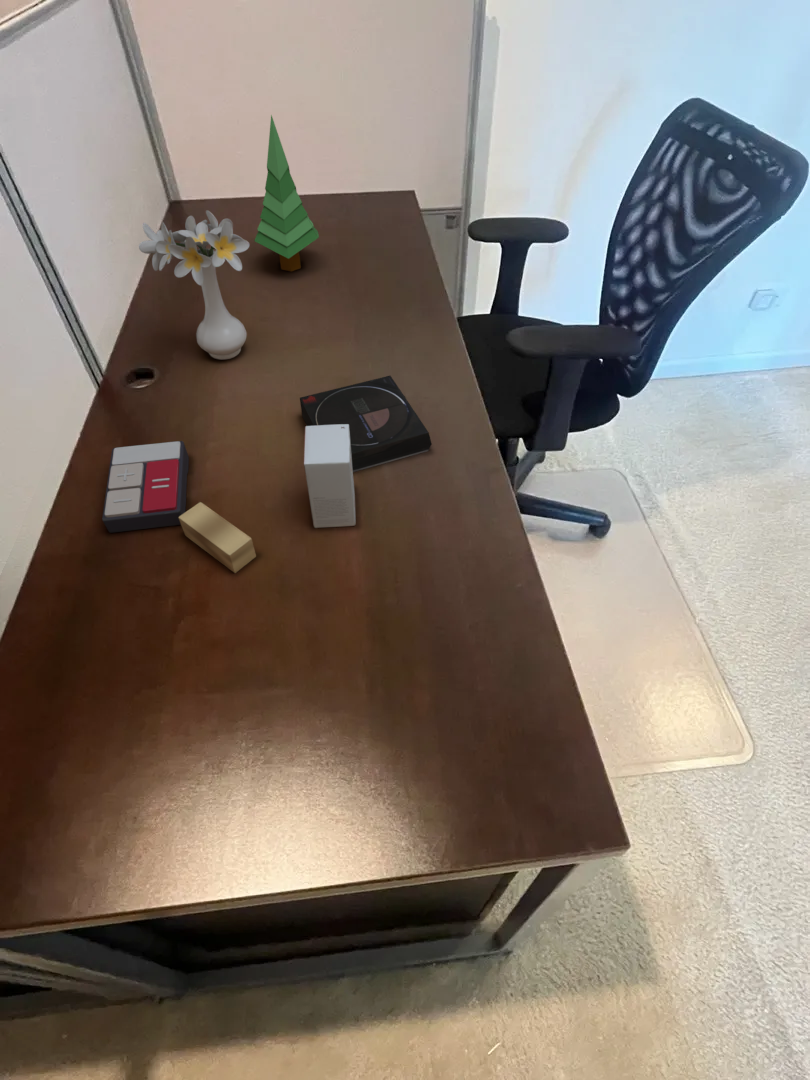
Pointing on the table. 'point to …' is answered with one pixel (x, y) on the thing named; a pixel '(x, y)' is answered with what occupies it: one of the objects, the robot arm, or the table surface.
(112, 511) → the calculator
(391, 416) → the portable cd player
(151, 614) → the table surface
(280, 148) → the decorative tree
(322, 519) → the small box
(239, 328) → the flower vase
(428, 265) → the table surface
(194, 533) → the wood bar
